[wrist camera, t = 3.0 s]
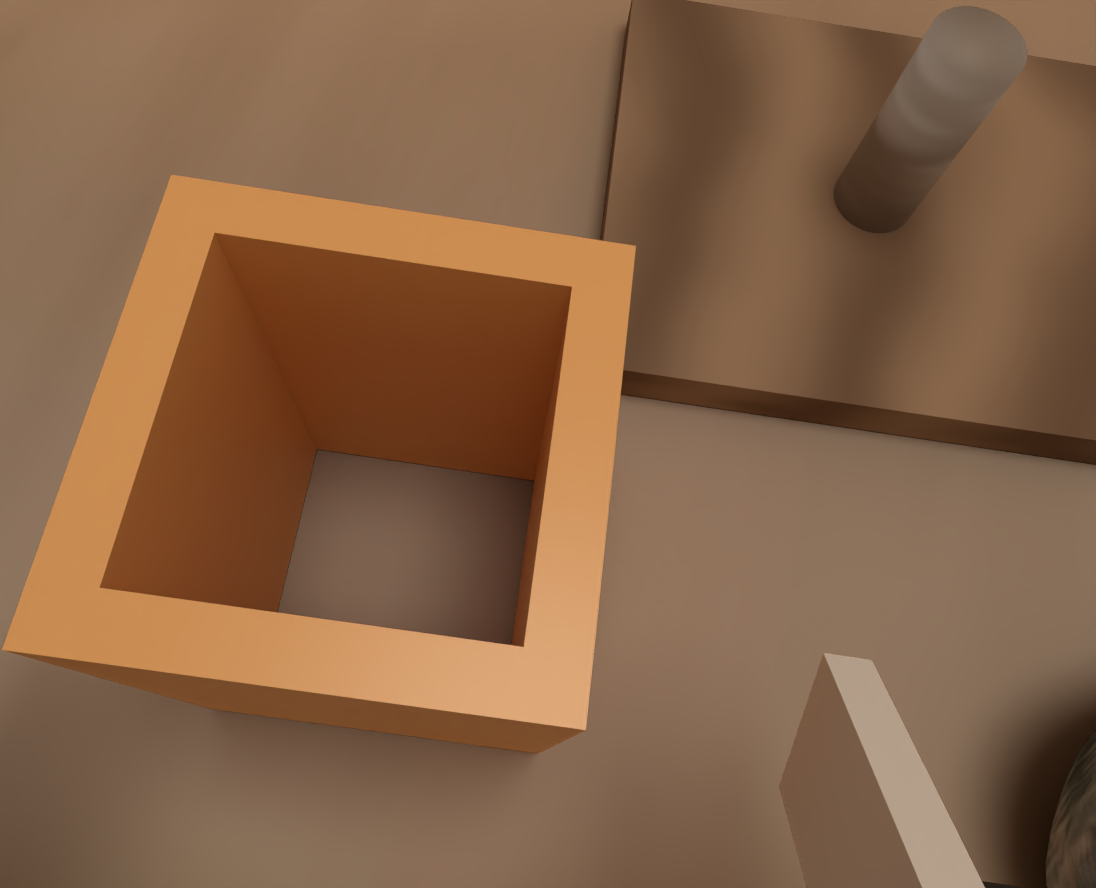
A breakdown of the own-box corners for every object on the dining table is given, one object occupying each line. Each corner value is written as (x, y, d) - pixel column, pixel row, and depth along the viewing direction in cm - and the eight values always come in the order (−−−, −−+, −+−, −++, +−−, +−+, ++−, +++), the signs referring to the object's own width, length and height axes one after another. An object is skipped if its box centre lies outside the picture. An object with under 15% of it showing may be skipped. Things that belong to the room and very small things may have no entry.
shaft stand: (581, 388, 25) (623, 234, 18) (626, 28, 30) (671, -199, 23) (1121, 468, 25) (1365, 348, 18) (1072, 99, 31) (1248, -102, 24)
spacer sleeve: (211, 709, 21) (1, 650, 12) (289, 410, 24) (171, 174, 15) (537, 753, 21) (586, 730, 12) (574, 452, 24) (635, 246, 15)
